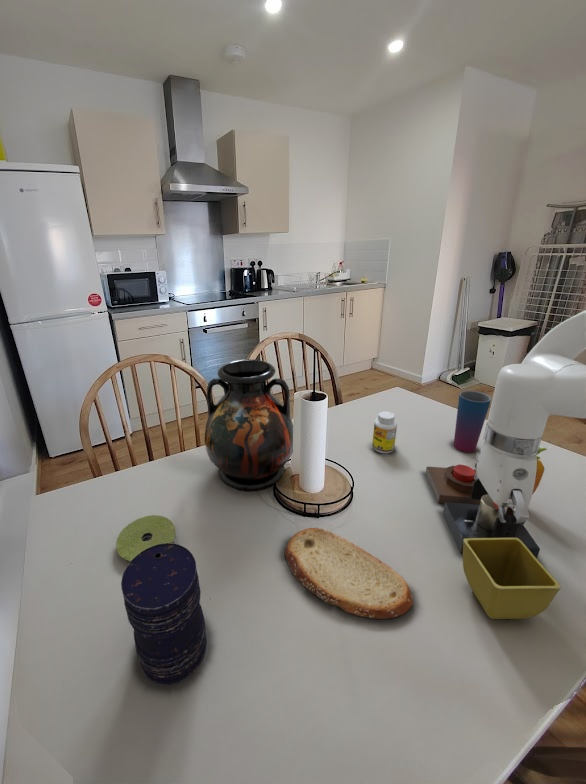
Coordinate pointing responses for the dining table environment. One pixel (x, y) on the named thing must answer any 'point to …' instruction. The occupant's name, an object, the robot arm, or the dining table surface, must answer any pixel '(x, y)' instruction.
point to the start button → (463, 473)
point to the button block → (449, 486)
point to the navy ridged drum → (165, 612)
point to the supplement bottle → (384, 432)
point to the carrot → (538, 470)
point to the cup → (470, 419)
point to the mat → (144, 535)
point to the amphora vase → (249, 426)
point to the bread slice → (347, 575)
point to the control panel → (478, 526)
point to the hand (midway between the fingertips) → (490, 516)
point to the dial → (487, 513)
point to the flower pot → (507, 578)
